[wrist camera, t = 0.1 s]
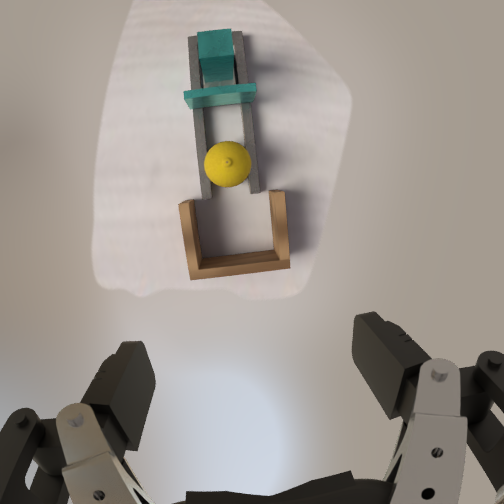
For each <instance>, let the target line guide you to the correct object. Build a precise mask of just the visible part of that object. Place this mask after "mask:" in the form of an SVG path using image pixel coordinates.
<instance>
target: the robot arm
mask: <svg viewBox="0 0 504 504" xmlns="http://www.w3.org/2000/svg"><path fill="white" fill-rule="evenodd" d="M352 356H353V360H354V363H355V365H356V366H357V368H358V369H359V371H360V372H361V374H362V376H363V377H364V379H365V381H366V382H367V384H368V385H369V387H370V389H371V390H372V392H373V394H374V395H375V397H376V398H377V400H378V402H379V403H380V405H381V406H382V408H383V410H384V411H385V413H386V415H387V416H388V418H389V419H390V420H391V419H393V418H396V417H399V416H401V417H402V419H403V422H402V425H401V429H400V432H399V436H398V439H397V442H396V446H395V449H394V452H393V456H392V459H391V462H390V465H389V467H388V470H387V472H386V474H385V477H384V478H383V481H381V480H375V479H354V478H353V475H352V473H351V471H347V472H344V473H340V474H336V475H332V476H328V477H324V478H320V479H315V480H311V481H309V482H307V483H304V484H302V485H299V486H297V487H294V488H292V489H289V490H287V491H284V492H281V493H278V494H275V495H272V496H261V495H251V494H242V493H235V492H229V491H218V492H217V491H216V492H215V491H214V492H194V491H186V501H181V502H177V503H174V504H458V500H459V495H460V490H461V484H462V478H463V471H464V463H465V453H466V443H467V444H468V446H469V447H470V449H471V451H472V452H473V454H474V455H475V457H476V458H477V460H478V461H479V463H480V465H481V466H482V468H483V470H484V471H485V473H486V475H487V476H488V478H489V480H490V481H491V483H492V485H493V486H494V488H495V490H496V492H497V495H496V501H495V502H496V503H495V504H504V426H503V425H502V424H501V423H500V421H499V420H498V419H497V418H496V416H495V415H494V414H493V413H492V411H491V410H490V409H491V407H492V405H493V404H494V402H495V403H496V404H497V406H498V407H499V408H500V409H501V410H502V412H503V413H504V354H502V353H500V352H497V351H486V352H483V353H482V354H480V356H479V357H478V360H477V363H476V365H475V366H471V367H465V368H458V367H457V366H456V365H455V364H454V363H453V362H451V361H448V360H446V359H439V358H438V359H432V358H431V357H430V356H429V355H428V354H427V353H426V352H425V351H423V349H422V348H421V347H420V346H419V345H418V344H417V343H416V342H415V341H414V340H412V338H411V337H410V336H409V335H408V334H407V335H406V332H405V331H404V330H403V329H402V328H401V327H400V326H398V325H396V324H394V323H392V322H390V321H384V320H383V319H382V318H381V317H380V316H379V315H378V314H377V313H376V312H369V313H364V314H359V315H356V316H355V318H354V328H353V341H352ZM155 382H156V381H155V374H154V371H153V368H152V365H151V363H150V360H149V357H148V354H147V351H146V348H145V345H144V344H143V342H142V341H126V342H122V343H121V345H120V347H119V348H118V350H117V352H116V354H112V355H111V356H109V357H108V358H107V359H106V360H105V361H104V362H103V363H102V365H101V366H100V368H99V370H98V372H97V373H96V375H95V377H94V379H93V380H92V382H91V384H90V386H89V388H88V389H87V391H86V393H85V395H84V396H83V398H82V400H81V402H80V403H74V404H70V405H68V406H66V407H65V408H63V409H62V410H61V411H60V412H59V413H58V415H57V417H56V418H53V419H42V420H40V418H39V417H38V415H37V414H36V413H35V411H34V410H32V409H30V408H22V409H18V410H16V411H15V412H13V413H12V414H11V415H10V417H9V418H8V420H7V421H6V423H5V425H4V427H3V428H2V430H1V432H0V504H67V503H68V499H69V495H70V497H71V500H72V502H73V504H155V503H154V502H153V501H152V499H151V498H150V497H149V495H148V494H147V492H146V491H145V489H144V488H143V486H142V485H141V483H140V482H139V480H138V479H137V477H136V475H135V474H134V472H133V471H132V469H131V467H130V466H129V464H128V462H127V460H126V459H125V458H124V454H125V451H126V450H130V451H138V447H139V443H140V439H141V436H142V432H143V428H144V425H145V421H146V417H147V414H148V410H149V407H150V403H151V400H152V397H153V393H154V390H155V384H156V383H155ZM32 459H33V460H34V461H35V462H36V463H37V464H38V465H39V466H38V469H37V472H36V474H35V477H34V479H33V482H32V485H31V487H30V490H28V488H27V487H26V484H25V476H26V473H27V471H28V468H29V466H30V464H31V461H32Z"/></svg>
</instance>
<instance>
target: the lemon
mask: <svg viewBox="0 0 504 504" xmlns="http://www.w3.org/2000/svg"><path fill="white" fill-rule="evenodd" d="M204 168H205V172H206V175H207V176H208V178H209V179H210V180H211V181H212V182H213V183H214V184H216V185H218V186H221V187H233V186H237V185H239V184H240V183H242V182H243V181H244V180H245V179H246V178H247V176H248V175H249V173H250V170H251V158H250V155H249V153H248V151H247V150H246V149H245V148H244V147H243V146H242V145H240V144H239V143H236V142H233V141H224V142H220V143H218V144H215V145H214V146H213V147H212V148H211V149H210V150H209V151H208V153H207V155H206V157H205V161H204Z"/></svg>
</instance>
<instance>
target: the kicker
mask: <svg viewBox="0 0 504 504" xmlns="http://www.w3.org/2000/svg"><path fill="white" fill-rule="evenodd" d="M197 36H198V51H199V61H200V64H201V68H202V72H203V85H204V88H202V89H195V90H188V91H184V100H185V101H186V103H187V105H188V106H189V108H190V109H196V108H203V107H210V106H218V105H227V104H237V103H248V102H253V101H254V97H255V94H256V91H257V90H256V83H249V84H235V75H234V50H233V41H232V32H231V29H221V30H212V31H204V32H197Z"/></svg>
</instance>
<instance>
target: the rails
mask: <svg viewBox="0 0 504 504" xmlns="http://www.w3.org/2000/svg"><path fill="white" fill-rule="evenodd" d="M232 41H233V45H234V50H235V59H236V68H237V77H238V84H248V77H247V69H246V60H245V52H244V44H243V36H242V31H234V32H232ZM188 48H189V65H190V79H191V90H195V89H201V79H200V66H199V53H198V36H191V37H188ZM240 104H241V114H242V123H243V132H244V141H245V149H246V150H247V151H248V153H249V155H250V158H251V170H250V173H249V175H248V179H249V188H250V194H255V193H260V186H259V177H258V167H257V157H256V148H255V139H254V130H253V121H252V112H251V103H250V102H248V103H240ZM193 117H194V127H195V138H196V148H197V157H198V166H199V175H200V184H201V192H202V200H204V199H212V190H211V181H210V179H209V178H208V176H207V175H206V172H205V168H204V161H205V157H206V155H207V144H206V135H205V124H204V114H203V108H196V109H193Z"/></svg>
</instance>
